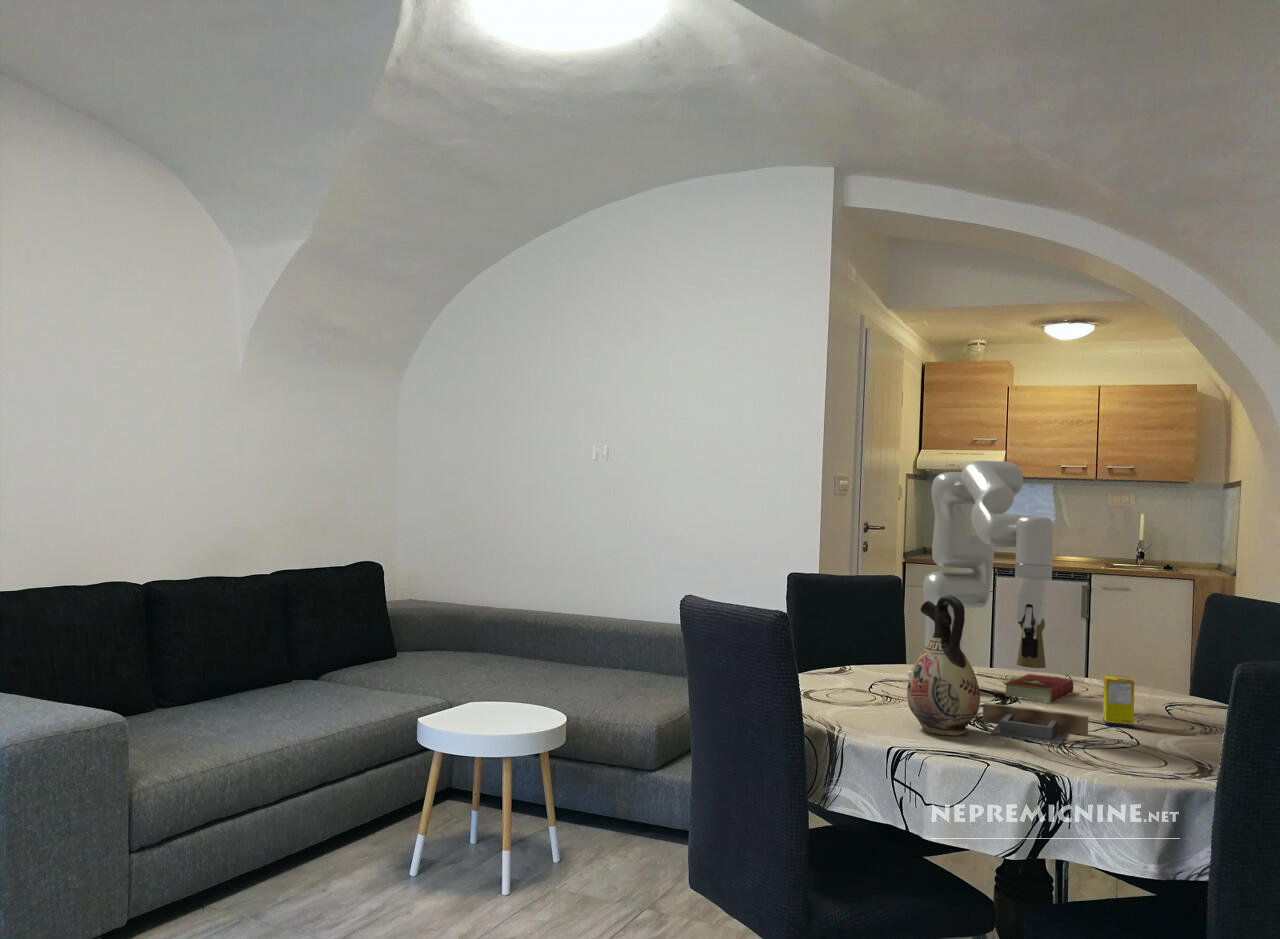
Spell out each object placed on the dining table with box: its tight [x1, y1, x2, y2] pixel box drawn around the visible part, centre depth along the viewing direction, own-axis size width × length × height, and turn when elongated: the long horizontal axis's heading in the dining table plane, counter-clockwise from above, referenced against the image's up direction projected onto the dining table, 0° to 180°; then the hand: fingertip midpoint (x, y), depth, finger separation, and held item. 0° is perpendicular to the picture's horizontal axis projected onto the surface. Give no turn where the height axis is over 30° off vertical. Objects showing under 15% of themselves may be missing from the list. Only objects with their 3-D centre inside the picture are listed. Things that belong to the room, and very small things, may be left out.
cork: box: [1016, 617, 1047, 669], centre depth 217 cm, size 6×6×11 cm
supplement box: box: [1102, 674, 1135, 729], centre depth 230 cm, size 6×6×11 cm
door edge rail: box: [982, 702, 1089, 736], centre depth 223 cm, size 22×2×4 cm, turn 61°
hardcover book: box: [1003, 673, 1074, 703], centre depth 265 cm, size 12×21×4 cm, turn 142°
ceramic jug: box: [906, 595, 981, 737], centre depth 216 cm, size 17×15×30 cm
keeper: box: [990, 713, 1068, 745], centre depth 216 cm, size 14×12×3 cm
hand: (1031, 655), depth 217 cm, fingers closed on cork, 4 cm apart
